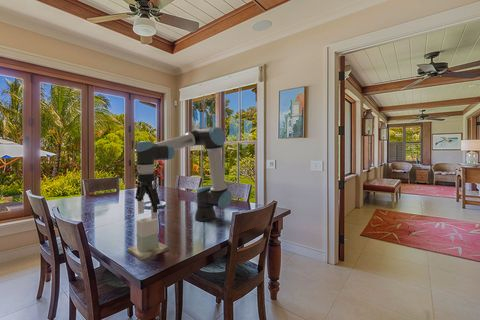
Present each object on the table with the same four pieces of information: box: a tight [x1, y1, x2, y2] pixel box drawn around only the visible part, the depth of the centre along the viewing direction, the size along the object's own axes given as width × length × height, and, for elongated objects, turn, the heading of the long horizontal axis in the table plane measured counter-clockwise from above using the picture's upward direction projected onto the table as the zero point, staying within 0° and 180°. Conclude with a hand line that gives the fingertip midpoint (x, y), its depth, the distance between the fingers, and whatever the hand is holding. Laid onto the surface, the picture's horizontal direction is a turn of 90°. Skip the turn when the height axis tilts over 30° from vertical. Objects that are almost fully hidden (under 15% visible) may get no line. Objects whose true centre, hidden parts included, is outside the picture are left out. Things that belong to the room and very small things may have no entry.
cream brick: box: [136, 216, 159, 237], centre depth 114 cm, size 8×6×7 cm
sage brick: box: [136, 232, 159, 252], centre depth 115 cm, size 8×6×7 cm
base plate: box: [126, 241, 169, 261], centre depth 115 cm, size 14×14×2 cm
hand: (147, 216), depth 114 cm, fingers open, 13 cm apart
